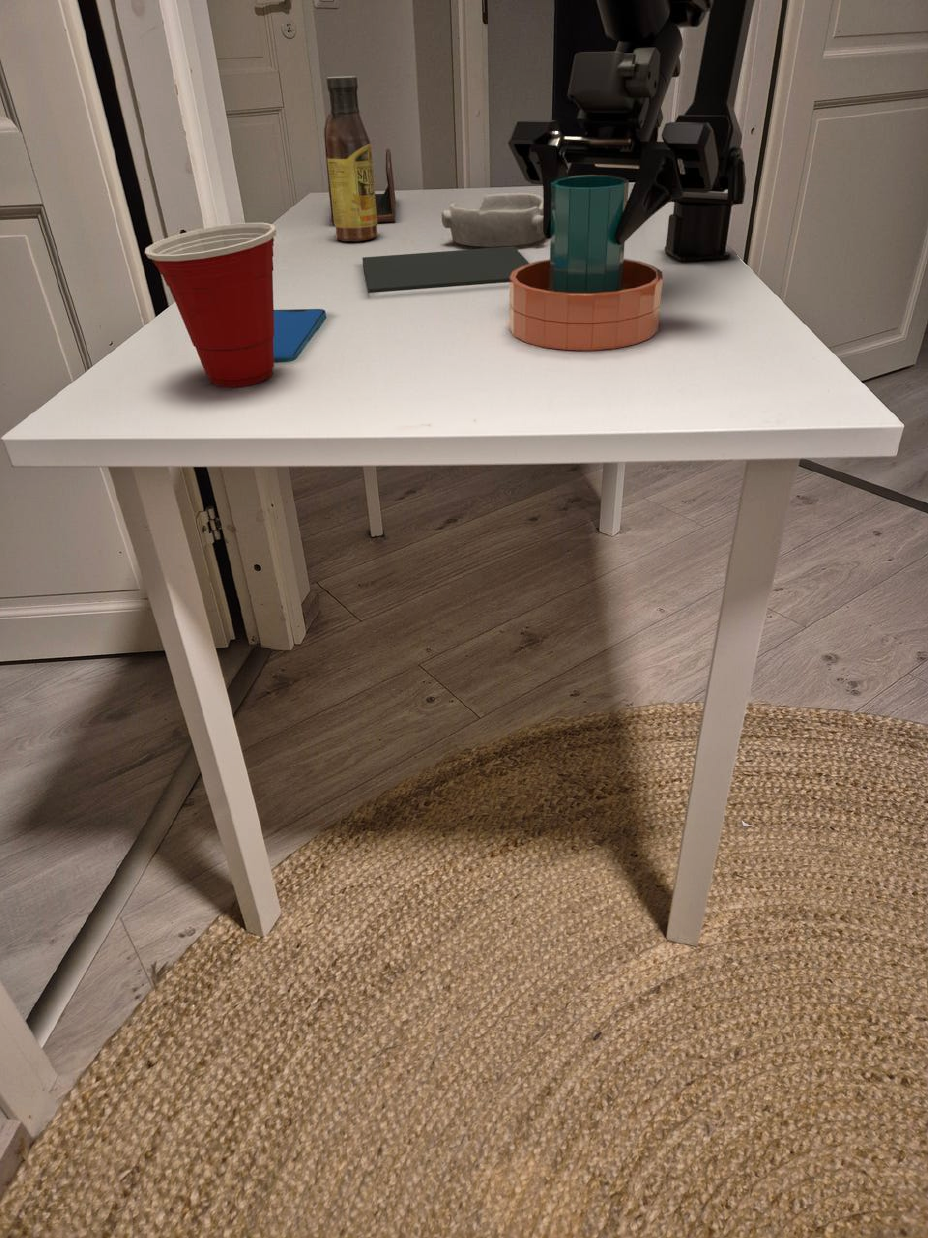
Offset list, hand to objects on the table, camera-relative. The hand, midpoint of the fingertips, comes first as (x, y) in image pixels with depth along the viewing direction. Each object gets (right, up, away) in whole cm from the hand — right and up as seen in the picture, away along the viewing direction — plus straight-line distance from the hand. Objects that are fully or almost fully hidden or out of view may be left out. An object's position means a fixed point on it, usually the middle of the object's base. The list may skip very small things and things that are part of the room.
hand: (581, 238), depth 75 cm
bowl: (+1, -6, +6) cm, 9 cm away
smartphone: (-30, -6, +9) cm, 32 cm away
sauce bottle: (-26, +21, +46) cm, 57 cm away
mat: (-13, +8, +27) cm, 31 cm away
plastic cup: (-31, -13, 0) cm, 33 cm away
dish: (-5, +19, +42) cm, 46 cm away
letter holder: (-27, +33, +62) cm, 76 cm away
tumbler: (+1, -5, +5) cm, 7 cm away
